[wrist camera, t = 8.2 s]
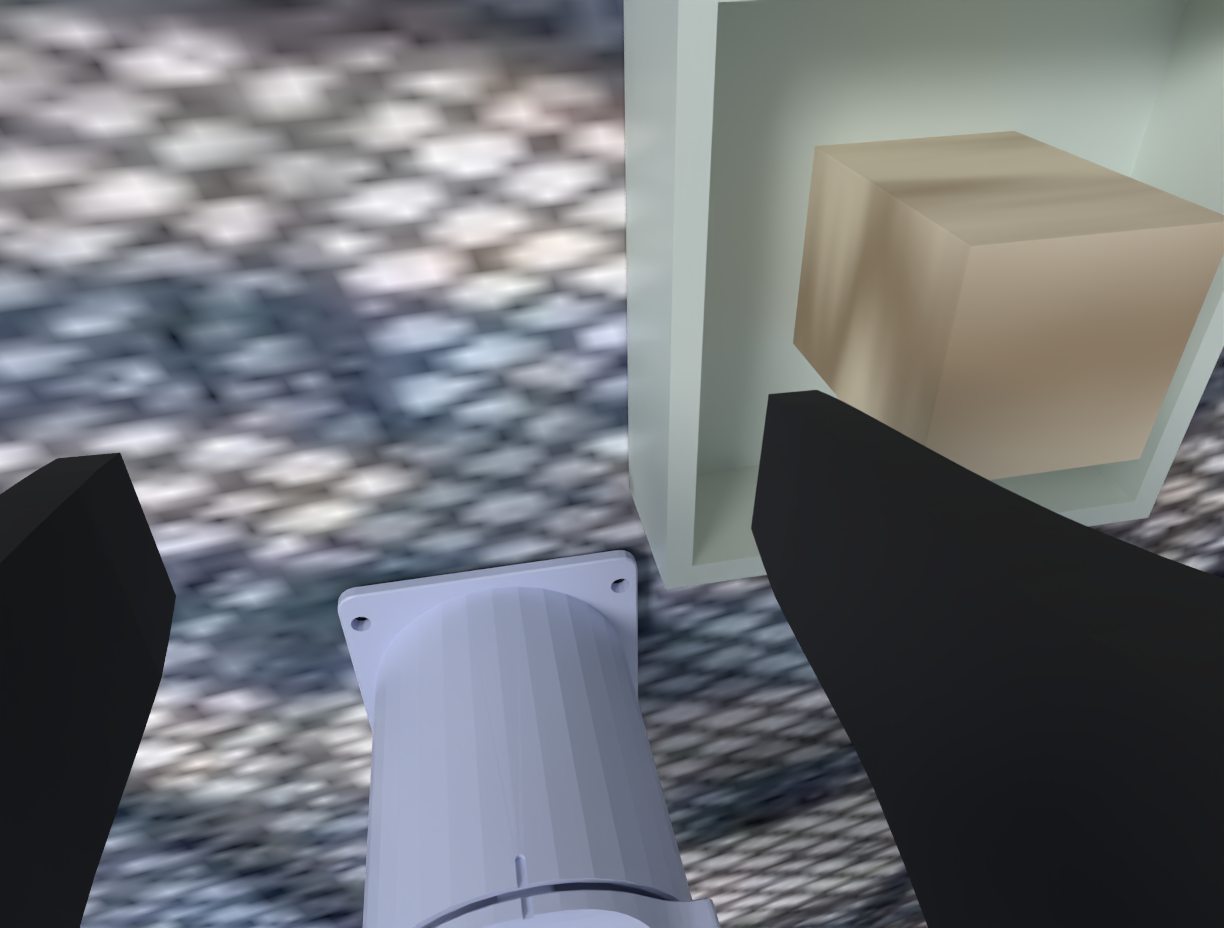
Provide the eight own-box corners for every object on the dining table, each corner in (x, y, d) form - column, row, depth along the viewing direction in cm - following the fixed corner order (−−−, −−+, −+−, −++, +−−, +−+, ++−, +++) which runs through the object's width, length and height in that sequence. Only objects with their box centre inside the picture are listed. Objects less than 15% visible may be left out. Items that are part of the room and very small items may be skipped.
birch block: (967, 323, 20) (1139, 459, 16) (793, 343, 20) (915, 490, 15) (1013, 130, 18) (1237, 220, 13) (815, 145, 17) (971, 246, 12)
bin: (1048, 432, 24) (1147, 517, 21) (629, 487, 22) (665, 589, 19) (1216, -79, 17) (1406, -72, 14) (623, -58, 15) (679, -45, 12)
